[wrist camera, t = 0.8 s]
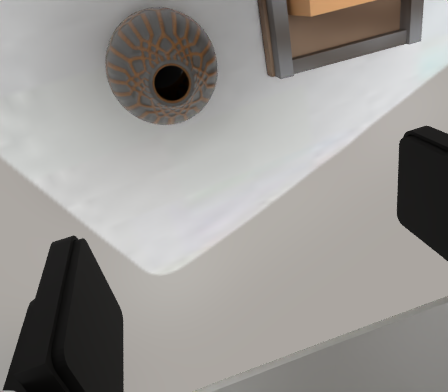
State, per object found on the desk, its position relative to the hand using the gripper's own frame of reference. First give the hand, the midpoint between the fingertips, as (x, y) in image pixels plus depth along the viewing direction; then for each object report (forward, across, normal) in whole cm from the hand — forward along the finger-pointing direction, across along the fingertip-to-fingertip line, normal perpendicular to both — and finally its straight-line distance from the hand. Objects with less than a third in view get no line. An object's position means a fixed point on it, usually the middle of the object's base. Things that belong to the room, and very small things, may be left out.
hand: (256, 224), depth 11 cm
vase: (+20, +1, -2) cm, 20 cm away
